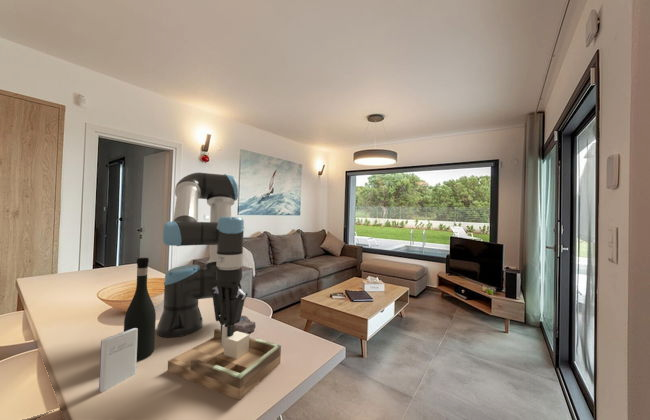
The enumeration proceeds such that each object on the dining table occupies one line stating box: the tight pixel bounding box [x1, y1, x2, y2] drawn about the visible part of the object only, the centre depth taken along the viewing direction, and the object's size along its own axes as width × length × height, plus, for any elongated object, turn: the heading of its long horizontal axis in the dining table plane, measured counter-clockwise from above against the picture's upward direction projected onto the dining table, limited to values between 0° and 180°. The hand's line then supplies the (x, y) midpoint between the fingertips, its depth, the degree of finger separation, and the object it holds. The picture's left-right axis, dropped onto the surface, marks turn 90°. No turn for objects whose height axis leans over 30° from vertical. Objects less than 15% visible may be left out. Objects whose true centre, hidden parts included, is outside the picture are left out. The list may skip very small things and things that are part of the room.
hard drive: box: [98, 328, 138, 393], centre depth 68 cm, size 2×8×12 cm, turn 159°
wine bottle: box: [123, 257, 157, 361], centre depth 81 cm, size 8×8×30 cm
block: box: [224, 331, 250, 359], centre depth 78 cm, size 5×5×5 cm
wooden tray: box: [167, 328, 282, 401], centre depth 75 cm, size 26×17×6 cm, turn 66°
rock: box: [234, 315, 256, 334], centre depth 98 cm, size 8×11×5 cm
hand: (226, 345), depth 79 cm, fingers closed
